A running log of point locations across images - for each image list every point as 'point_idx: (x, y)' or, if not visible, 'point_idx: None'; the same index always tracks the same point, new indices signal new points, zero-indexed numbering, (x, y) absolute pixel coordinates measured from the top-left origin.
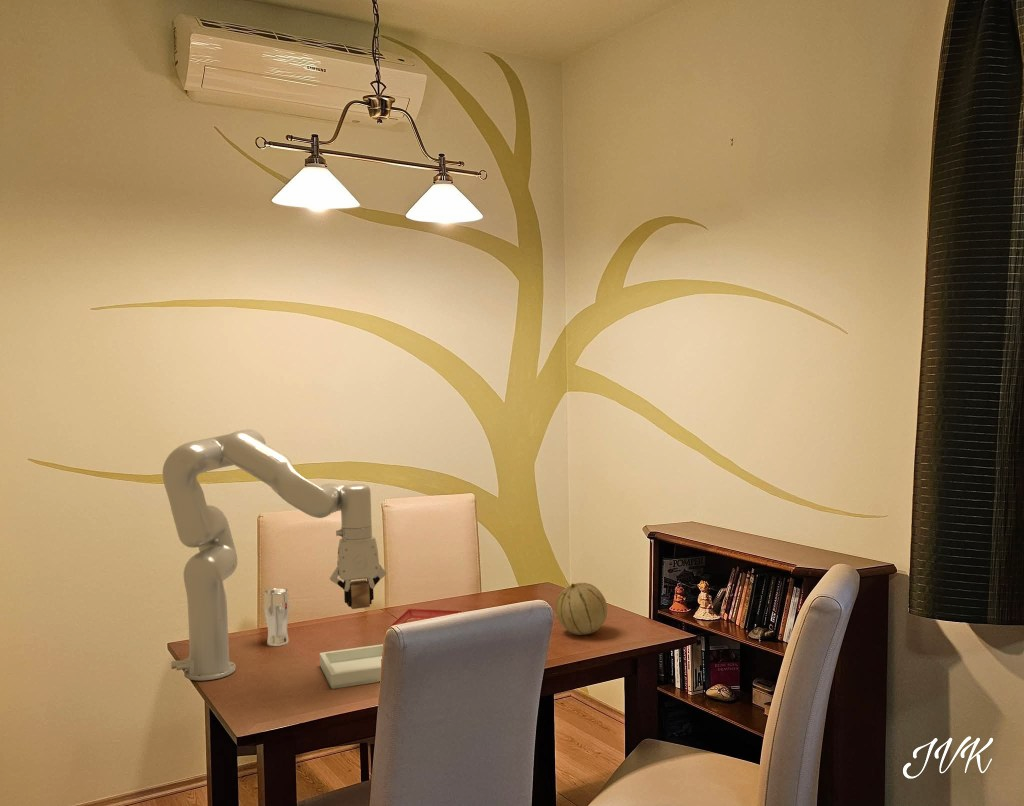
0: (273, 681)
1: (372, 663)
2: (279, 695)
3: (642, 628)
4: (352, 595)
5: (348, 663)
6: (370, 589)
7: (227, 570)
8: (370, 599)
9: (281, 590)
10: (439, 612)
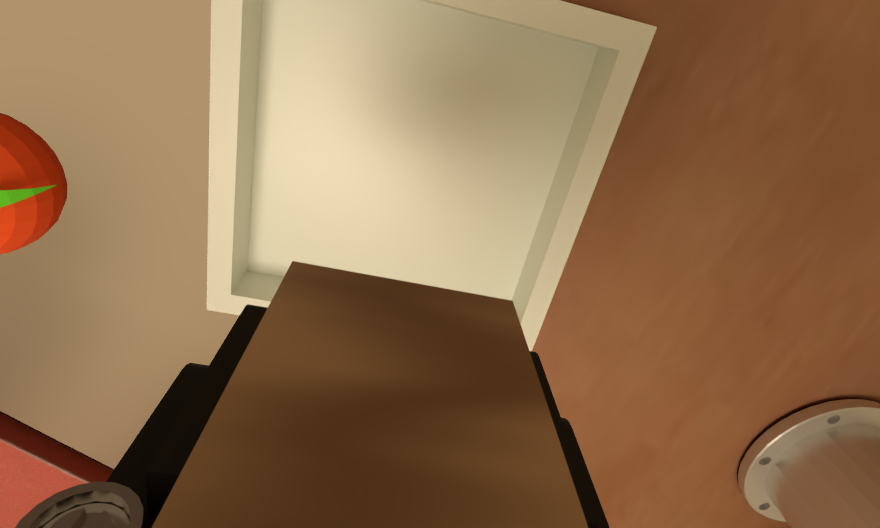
0: (737, 276)
1: (331, 205)
2: (828, 106)
3: None
4: (544, 424)
5: (425, 267)
6: (166, 465)
7: None
8: (243, 341)
9: None
10: None
